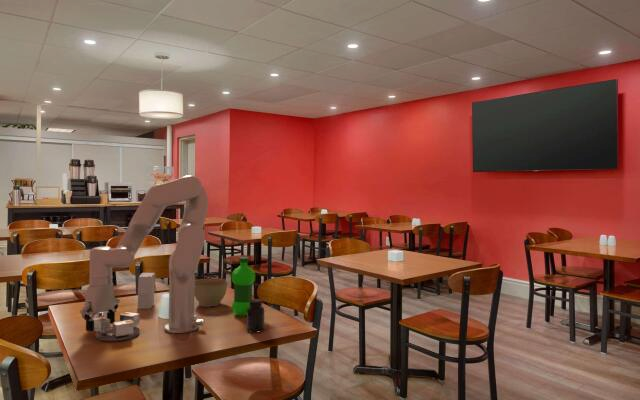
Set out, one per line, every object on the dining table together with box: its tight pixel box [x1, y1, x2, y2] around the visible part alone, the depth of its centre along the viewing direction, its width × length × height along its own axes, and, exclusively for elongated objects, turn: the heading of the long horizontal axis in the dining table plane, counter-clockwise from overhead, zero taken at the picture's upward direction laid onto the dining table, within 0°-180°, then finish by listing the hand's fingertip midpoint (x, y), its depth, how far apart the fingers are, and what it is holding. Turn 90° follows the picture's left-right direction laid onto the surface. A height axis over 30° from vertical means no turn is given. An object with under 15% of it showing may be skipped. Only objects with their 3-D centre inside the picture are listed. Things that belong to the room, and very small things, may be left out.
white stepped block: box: [119, 311, 140, 327], centre depth 175 cm, size 4×6×5 cm, turn 71°
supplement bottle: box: [246, 298, 265, 332], centre depth 179 cm, size 7×7×12 cm
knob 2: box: [112, 320, 133, 337], centre depth 165 cm, size 4×6×5 cm, turn 131°
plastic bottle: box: [231, 256, 256, 316], centre depth 199 cm, size 10×10×25 cm
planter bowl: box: [194, 278, 229, 308], centre depth 214 cm, size 16×16×11 cm
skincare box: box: [137, 272, 156, 310], centre depth 208 cm, size 8×6×15 cm
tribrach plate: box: [94, 326, 141, 343], centre depth 170 cm, size 15×15×2 cm
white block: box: [93, 316, 111, 333], centre depth 168 cm, size 4×6×5 cm, turn 58°
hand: (100, 327), depth 168 cm, fingers open, 9 cm apart
